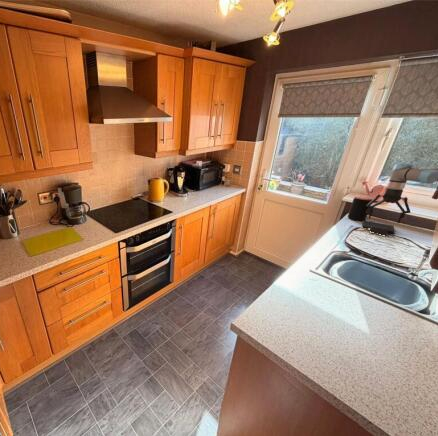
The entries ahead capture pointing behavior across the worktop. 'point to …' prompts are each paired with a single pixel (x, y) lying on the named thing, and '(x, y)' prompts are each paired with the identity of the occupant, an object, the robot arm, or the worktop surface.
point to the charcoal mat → (368, 224)
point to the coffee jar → (359, 208)
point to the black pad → (379, 229)
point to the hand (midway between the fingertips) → (383, 220)
